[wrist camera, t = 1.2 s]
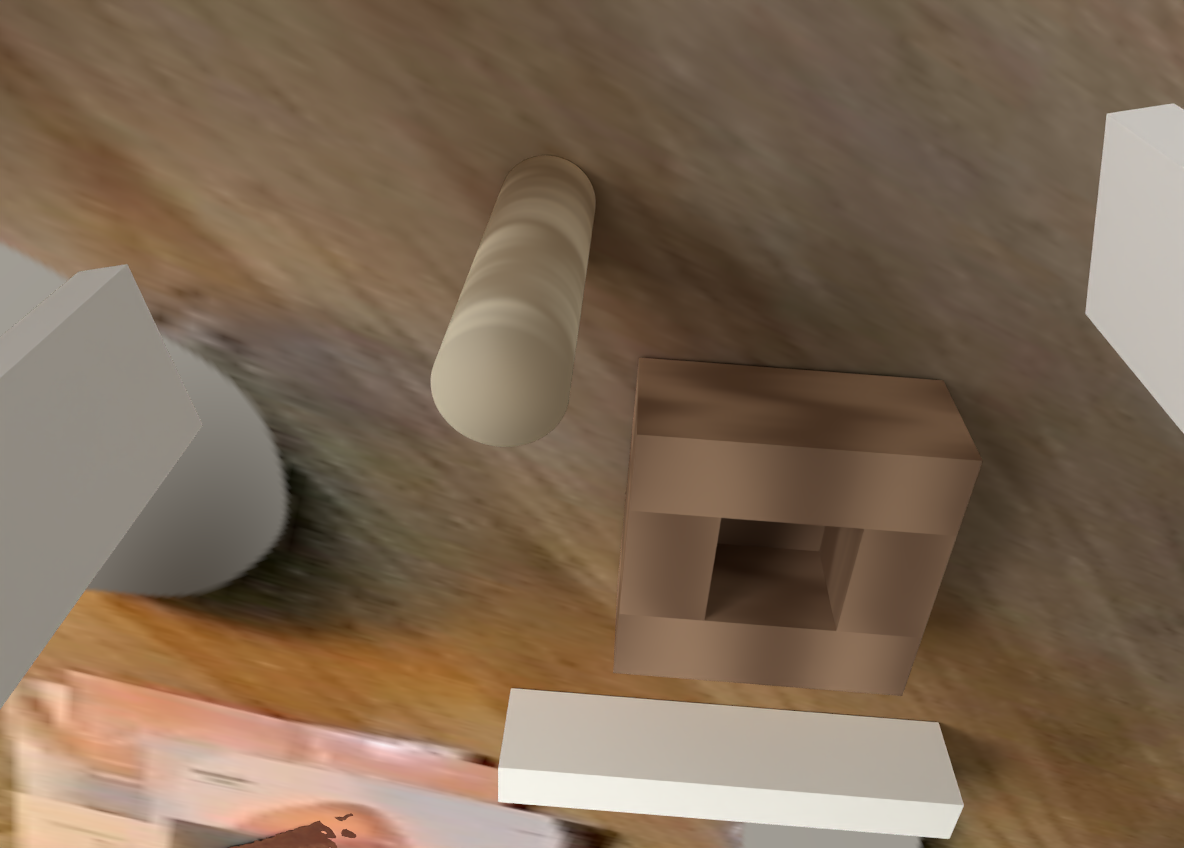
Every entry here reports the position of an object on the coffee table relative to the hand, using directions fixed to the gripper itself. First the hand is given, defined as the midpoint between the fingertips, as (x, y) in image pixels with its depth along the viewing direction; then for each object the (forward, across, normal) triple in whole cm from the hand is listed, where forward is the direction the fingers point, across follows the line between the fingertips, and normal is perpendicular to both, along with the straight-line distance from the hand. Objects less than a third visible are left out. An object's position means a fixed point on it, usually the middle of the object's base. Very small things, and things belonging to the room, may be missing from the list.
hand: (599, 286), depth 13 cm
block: (+19, +3, -18) cm, 26 cm away
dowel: (+19, -4, -5) cm, 20 cm away
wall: (+19, -1, -32) cm, 37 cm away
